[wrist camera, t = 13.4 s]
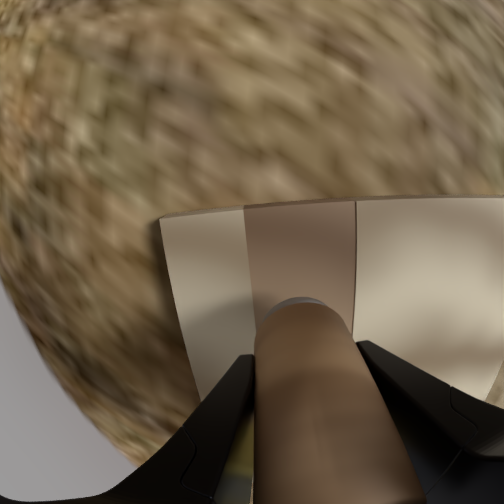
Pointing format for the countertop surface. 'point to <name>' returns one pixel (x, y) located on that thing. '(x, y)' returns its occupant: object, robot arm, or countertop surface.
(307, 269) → the plywood panel
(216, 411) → the robot arm
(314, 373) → the wooden tool handle
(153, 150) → the countertop surface
